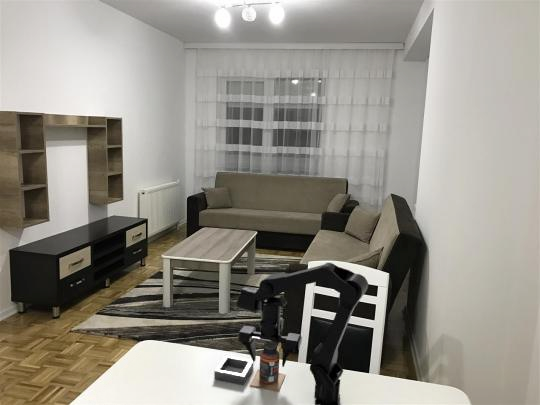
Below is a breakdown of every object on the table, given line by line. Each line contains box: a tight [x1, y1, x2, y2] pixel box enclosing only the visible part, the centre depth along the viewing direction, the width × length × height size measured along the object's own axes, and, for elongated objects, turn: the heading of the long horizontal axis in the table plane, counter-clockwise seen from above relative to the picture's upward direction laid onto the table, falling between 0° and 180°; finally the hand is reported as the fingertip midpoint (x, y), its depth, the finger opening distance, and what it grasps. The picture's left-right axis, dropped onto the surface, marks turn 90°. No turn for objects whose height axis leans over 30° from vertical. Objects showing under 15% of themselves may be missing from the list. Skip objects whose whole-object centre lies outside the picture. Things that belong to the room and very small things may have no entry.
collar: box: [213, 354, 255, 386], centre depth 143 cm, size 10×10×3 cm
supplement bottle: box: [259, 342, 280, 384], centre depth 139 cm, size 6×6×11 cm
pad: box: [249, 368, 286, 392], centre depth 140 cm, size 9×9×1 cm
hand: (268, 363), depth 139 cm, fingers open, 9 cm apart
